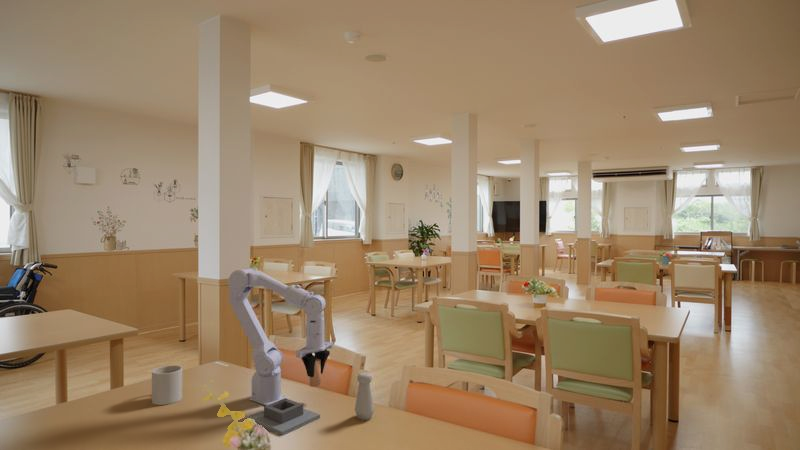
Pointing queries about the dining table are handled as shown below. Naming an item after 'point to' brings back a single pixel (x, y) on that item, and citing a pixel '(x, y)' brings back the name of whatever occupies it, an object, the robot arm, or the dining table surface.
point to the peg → (316, 374)
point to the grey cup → (166, 385)
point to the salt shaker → (364, 397)
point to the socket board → (284, 416)
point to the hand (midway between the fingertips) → (315, 374)
